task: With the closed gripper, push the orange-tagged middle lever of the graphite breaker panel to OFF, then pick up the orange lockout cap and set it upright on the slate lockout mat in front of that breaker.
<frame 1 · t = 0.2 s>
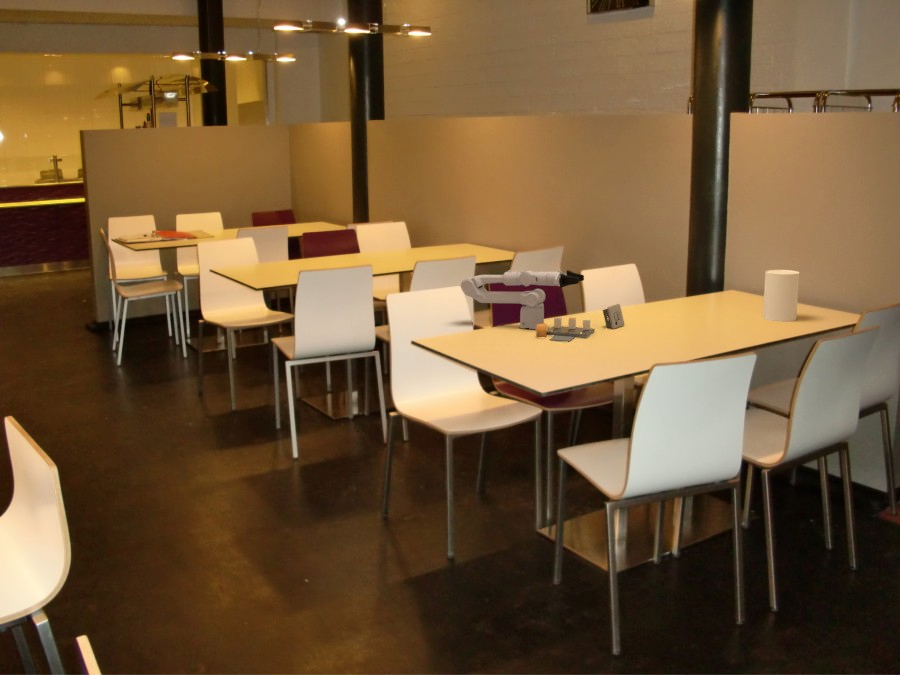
hand: (581, 279, 368), 21 cm above the table, tool horizontal, fingers open, 7 cm apart
breaker panel: (569, 333, 367), on the table
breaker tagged: (572, 323, 369), point 4 cm above the table, slide at 0.0 cm
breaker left: (557, 322, 371), point 4 cm above the table, slide at 0.0 cm
lockout mat: (562, 339, 357), on the table
electrical switch: (613, 327, 379), on the table
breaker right: (586, 324, 366), point 4 cm above the table, slide at 0.0 cm
lockout cap: (541, 336, 362), on the table
canister: (779, 318, 390), on the table
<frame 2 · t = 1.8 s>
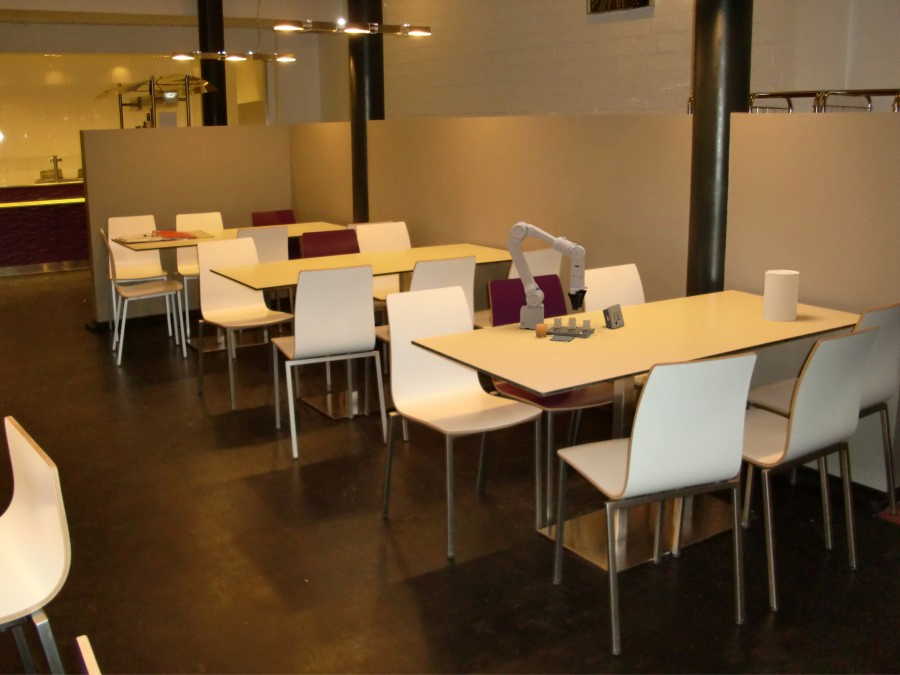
hand: (577, 308, 374), 8 cm above the table, tool pointing down, fingers open, 5 cm apart
nothing on the table moved.
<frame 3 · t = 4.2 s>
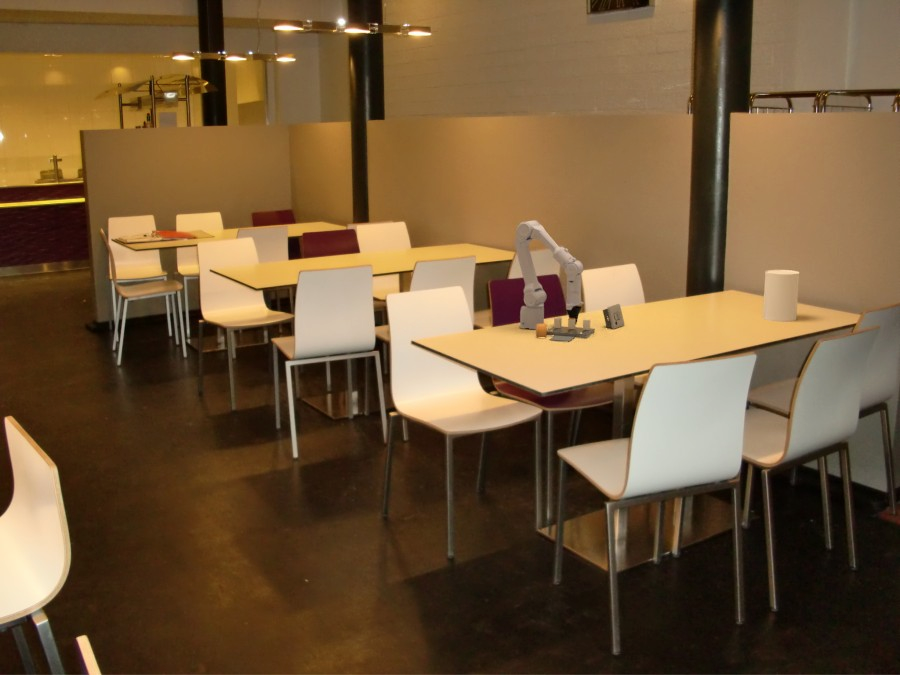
hand: (573, 324, 370), 3 cm above the table, tool pointing down, fingers closed
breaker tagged: (571, 323, 368), point 4 cm above the table, slide at 0.6 cm, touching gripper
everything else where it was.
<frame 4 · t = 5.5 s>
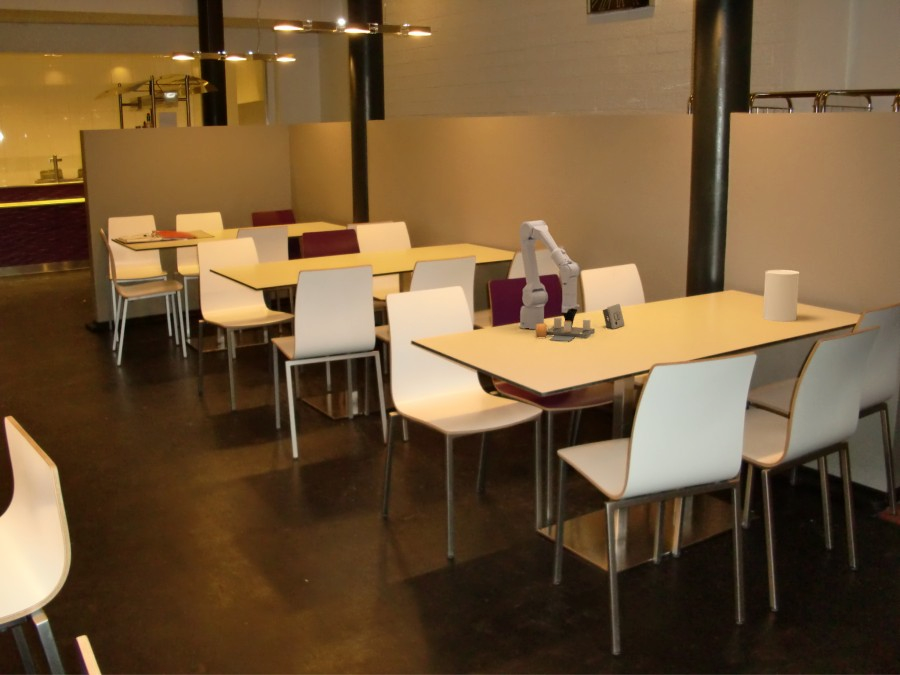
hand: (569, 327, 365), 3 cm above the table, tool pointing down, fingers closed
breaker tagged: (567, 326, 363), point 4 cm above the table, slide at 6.3 cm, touching gripper
everything else where it was.
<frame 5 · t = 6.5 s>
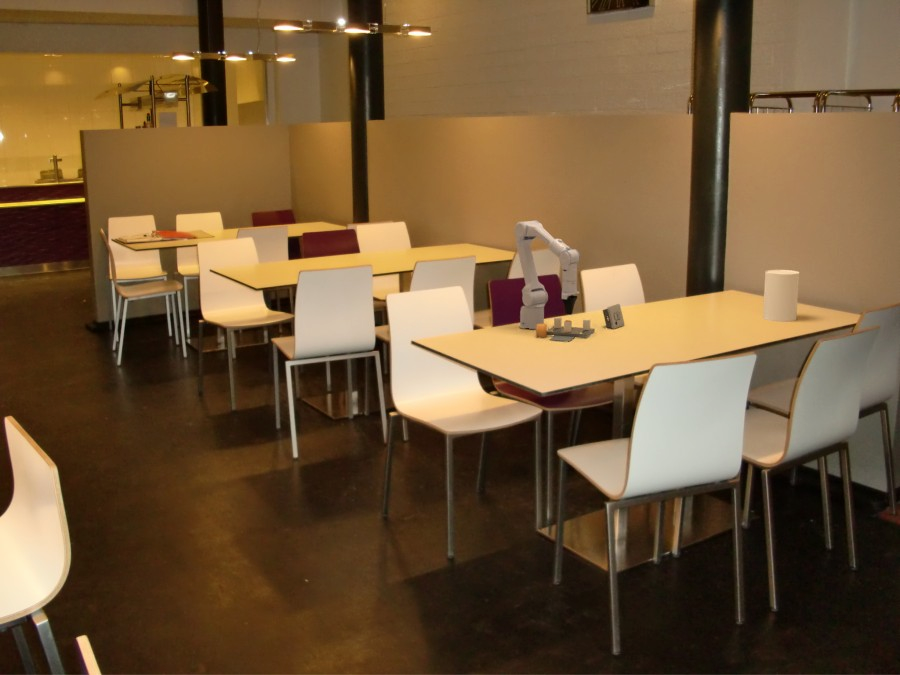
hand: (569, 314, 364), 8 cm above the table, tool pointing down, fingers closed
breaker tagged: (567, 326, 363), point 4 cm above the table, slide at 6.1 cm
everything else where it was.
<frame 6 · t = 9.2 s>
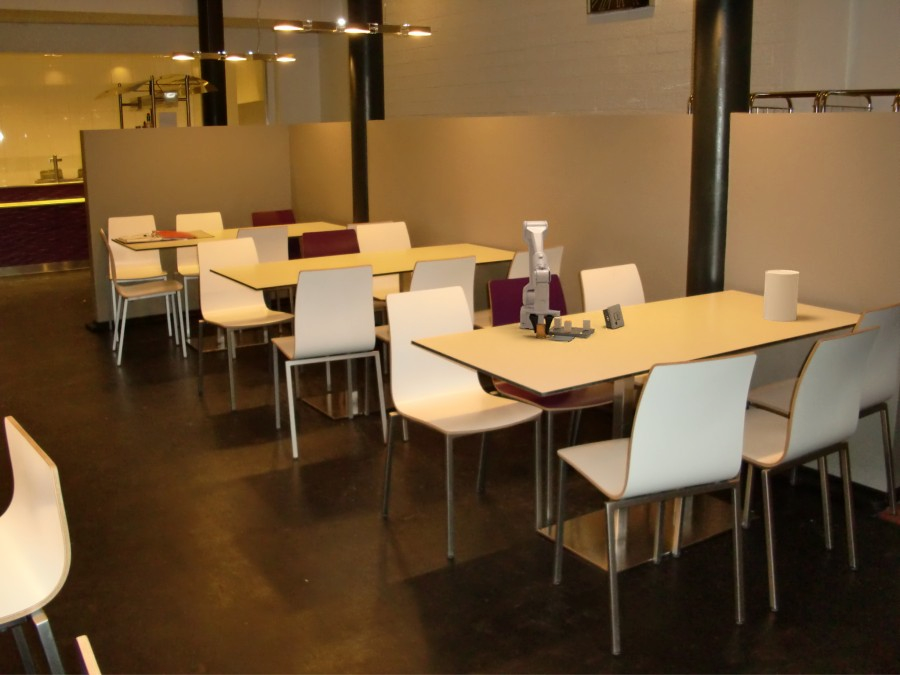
hand: (541, 333, 362), 1 cm above the table, tool pointing down, fingers closed on lockout cap, 4 cm apart
lockout cap: (541, 336, 362), on the table, touching gripper
everything else where it was.
when the fingers open (3 cm above the table, at t = 12.2 s): lockout cap drops 1 cm, resting on lockout mat.
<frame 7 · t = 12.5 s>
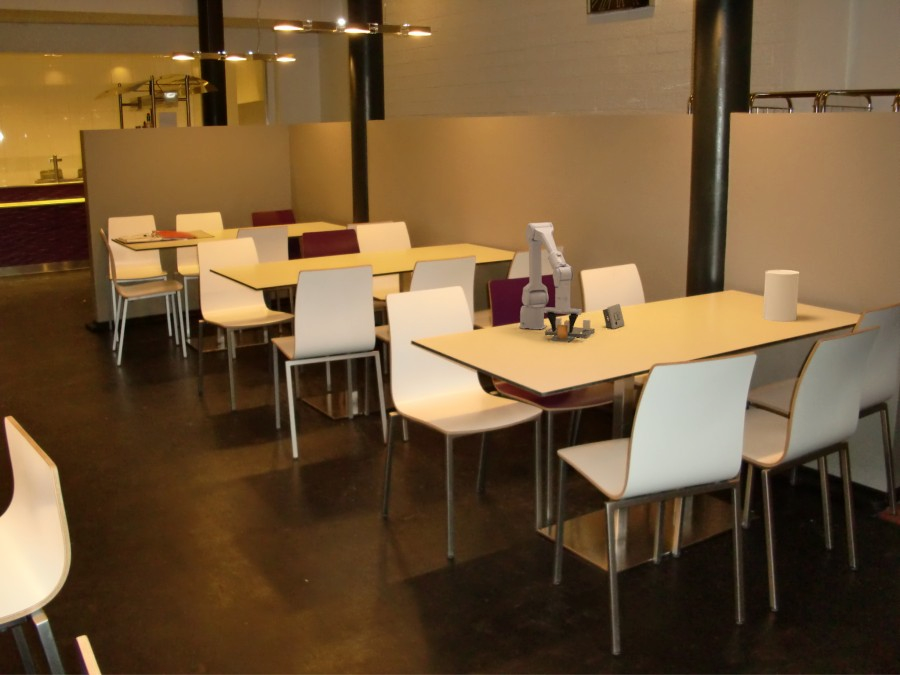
hand: (562, 331, 357), 3 cm above the table, tool pointing down, fingers open, 6 cm apart
lockout cap: (562, 338, 357), resting on lockout mat
everything else where it was.
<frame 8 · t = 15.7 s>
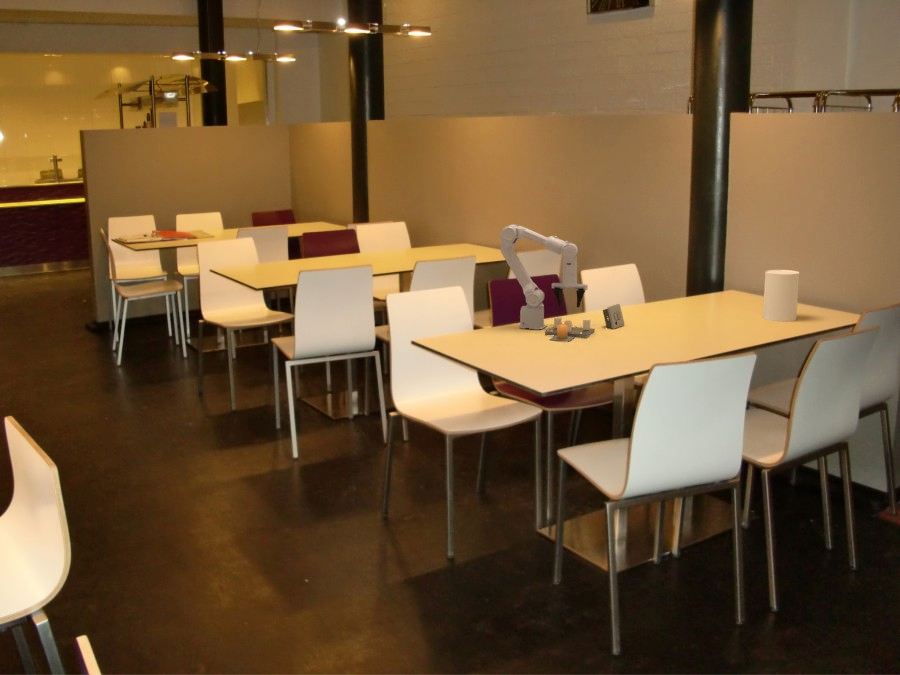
hand: (569, 306, 374), 9 cm above the table, tool pointing down, fingers open, 7 cm apart
nothing on the table moved.
at the end: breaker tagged slide at 6.1 cm; lockout cap 0.1 cm off-centre on the lockout mat, point 0.4 cm above the lockout mat's base; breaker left slide at 0.0 cm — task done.
